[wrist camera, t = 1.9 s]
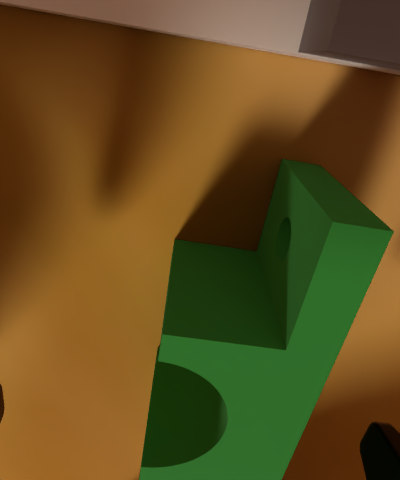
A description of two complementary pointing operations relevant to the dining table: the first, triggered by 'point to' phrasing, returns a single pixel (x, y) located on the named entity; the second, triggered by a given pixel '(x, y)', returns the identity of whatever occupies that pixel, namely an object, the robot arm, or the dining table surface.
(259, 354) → the green angled block
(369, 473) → the robot arm
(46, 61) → the dining table surface
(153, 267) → the dining table surface
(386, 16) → the door panel
